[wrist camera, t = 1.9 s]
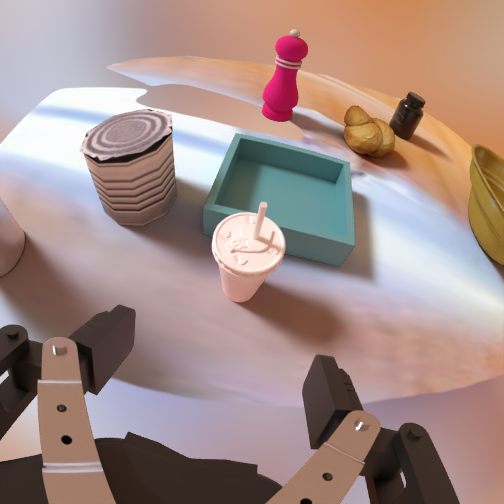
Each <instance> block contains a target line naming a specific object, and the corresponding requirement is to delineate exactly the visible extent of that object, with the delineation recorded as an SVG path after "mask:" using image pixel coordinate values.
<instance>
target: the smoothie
mask: <svg viewBox="0 0 504 504" xmlns="http://www.w3.org/2000/svg"><path fill="white" fill-rule="evenodd" d="M266 209H267V203H266V202H261V203H260V206H259V210H258V214H256V213H250V212H243V213H237V214H233V215H231V216H228V217H227V218H225V219H224V220H222V221H221V222H220V223H219V224H218V226H217V227H216V229H215V231H214V235H213V241H212V252H213V255H214V257H215V260H216V261H217V262H218V264H219V270H220V275H221V280H222V285H223V290H224V293H225V295H226V296H227V297H228V298H229V299H230V300H232V301H235V302H245V301H247V300H249V299H250V298H251V297H252V296H253V295H254V294H255V292H256V291H257V290H258V288H259V287H260V285H261V284H262V283H263V281H264V280H265V279H266V277H267V276H268V275H269V274H270V273H272V272H273V271H275V270H276V268H277V267H278V266H279V265H280V264H281V261H282V259H283V256H284V253H285V247H286V244H285V238H284V235H283V233H282V231H281V230H280V228H279V227H278V226H277V225H276V224H275V223H274V222H273V221H272V220H270V219H269V218H267V217H265V213H266Z"/></svg>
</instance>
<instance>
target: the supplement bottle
mask: <svg viewBox="0 0 504 504" xmlns="http://www.w3.org/2000/svg"><path fill="white" fill-rule="evenodd" d="M406 98H407V99H403V100H401V101H400V103H399V105H398V107H397V109H396V111H395V113H394V115H393V117H392V119H391V121H390V123H389V126H390V127H391V128H392V130H393V132H394V134H395V135H397V136H399V137H400V138H403V139H406V140H408V139H410V138H411V137H412V135H413V133H414V131H415V130H416V128H417V126H418V124H419V122H420V121H421V119H422V117H423V111H422V109H421V108H423V107H424V104H425V100H424V99H423V98H421V97H420V96H418V95H417V94H415V93H412V92H409V93H408V95H407V97H406Z"/></svg>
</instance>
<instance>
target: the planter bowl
mask: <svg viewBox="0 0 504 504" xmlns="http://www.w3.org/2000/svg"><path fill="white" fill-rule="evenodd" d="M472 156H473V157H472V161H471V165H470V179H471V183H472V188H471V192H470V197H469V204H468V215H469V219H470V224H471V227H472V230H473V233H474V235H475V237H476V239H477V241H478V242H479V244H480V245H481V247H482V248H483V250H484V251H485V252H486V253H487V254H488V255H489V256H490V257H491V258H492V259H493V260H495V261H497V262H498V263H500V264H502V265H504V160H503V159H502V158H501V157H500V156H499V155H497V154H496V153H495V152H493V151H492V150H490V149H489V148H487V147H485V146H482V145H478V144H476V145H473V147H472Z"/></svg>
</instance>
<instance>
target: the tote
mask: <svg viewBox="0 0 504 504" xmlns="http://www.w3.org/2000/svg"><path fill="white" fill-rule="evenodd" d="M261 202H266V203H267V209H266V213H265V217H267V218H269V219H270V220H272V221H273V222H274V223H275V224H276V225H277V226H278V227H279V228H280V230H281V231H282V233H283V235H284V238H285V244H286V247H285V254H289V255H293V256H297V257H301V258H305V259H310V260H314V261H318V262H322V263H326V264H330V265H334V266H338V267H339V266H340V265H341V263H342V262H343V261H344V260H345V258H346V257H347V256H348V254H349V253H350V252H351V251H352V249H353V248H354V247H355V231H354V211H353V196H352V184H351V173H350V163H349V162H346V161H343V160H340V159H337V158H333V157H330V156H327V155H323V154H320V153H317V152H313V151H309V150H306V149H302V148H298V147H295V146H291V145H287V144H283V143H279V142H274V141H270V140H266V139H261V138H257V137H252V136H247V135H242V134H237V133H236V134H235V136H234V138H233V140H232V143H231V145H230V147H229V149H228V151H227V154H226V156H225V158H224V160H223V163H222V165H221V167H220V169H219V172H218V174H217V176H216V179H215V181H214V183H213V186H212V188H211V191H210V193H209V195H208V198H207V200H206V203H205V205H204V207H203V234H205V235H209V236H213V235H214V231H215V229H216V227H217V226H218V224H219V223H220V222H221V221H222V220H224V219H225V218H227V217H228V216H231V215H233V214H237V213H243V212H250V213H256V214H258V210H259V206H260V203H261Z"/></svg>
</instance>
